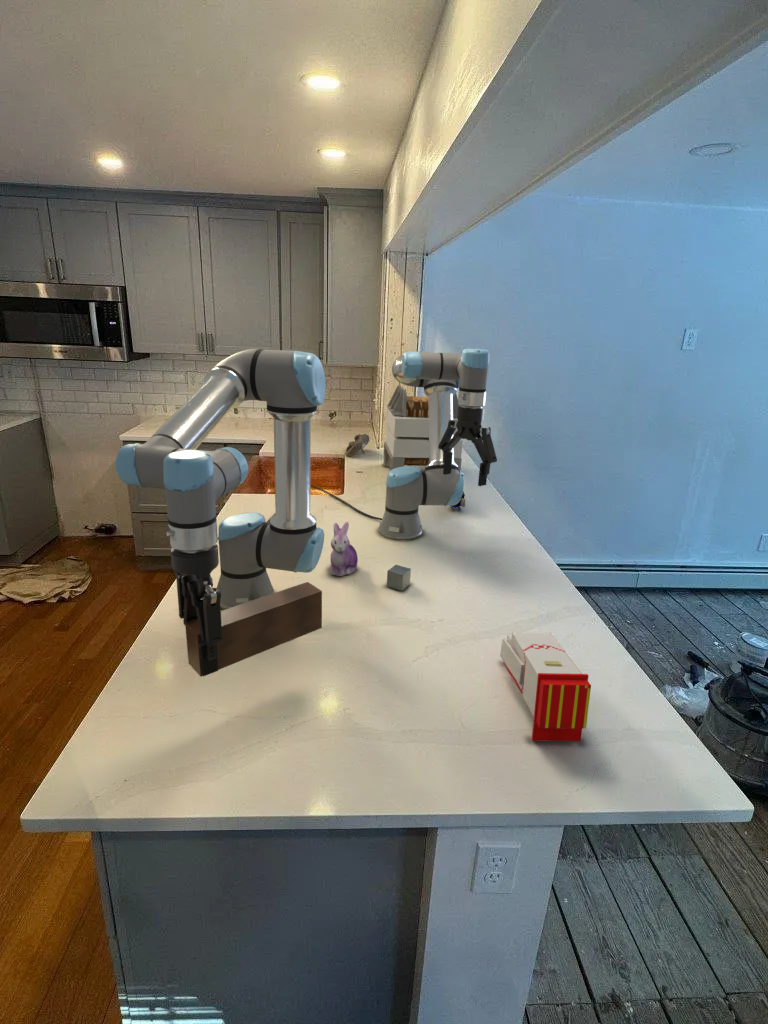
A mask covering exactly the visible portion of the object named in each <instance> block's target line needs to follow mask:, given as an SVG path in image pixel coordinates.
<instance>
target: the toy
mask: <svg viewBox="0 0 768 1024" xmlns="http://www.w3.org/2000/svg"><path fill="white" fill-rule="evenodd" d="M506 636H507V637H506V638H505V637H502V640H501V647H500V655H499V657H500V658H501V660H502V663H503V664H504V665H503V666H505V668H506V670H507V671H508V673H509V676H510V677H511V678H512V681H514V683H515V685H516V687H517V688H518V690H519V692H520V693H521V695H522V697H523V699H524V702H525V703H526V705H527V708H529V711H530V713H531V715H532V717H533V721H532V732H531V740H532V741H534V742H582V736H583V735H582V733H583V729H585V730H586V729H587V723H588V714H589V706H590V705H589V704H590V699H591V691H592V690H591V689H592V684H591V683H590V682H589V674H588V673H583V672H581V670H580V668H578V666H577V664H575V662H574V661H573V659H572V658H571V657H570V656H569V654H568V653H567V652H566V650H565V649H564V647H563V646H562V645H561V644H560V642H559V641H558V639H557V638H556V637H555V636H554V635H553V633H551V632H525V631H523V632H522V631H521V632H519V631H512V632H511V633H507V635H506Z"/></svg>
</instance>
